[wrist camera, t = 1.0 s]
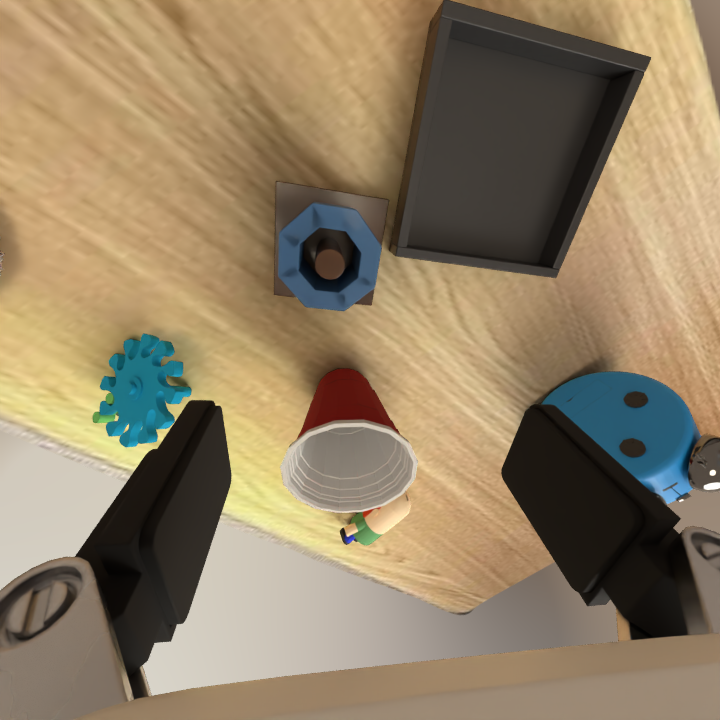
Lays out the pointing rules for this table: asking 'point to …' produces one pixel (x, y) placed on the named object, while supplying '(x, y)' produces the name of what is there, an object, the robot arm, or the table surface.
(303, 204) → the dowel stand
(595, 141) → the tray
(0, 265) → the sea urchin shell
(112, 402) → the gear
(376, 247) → the ring
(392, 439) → the plastic cup
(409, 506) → the toy figurine
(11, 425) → the table surface
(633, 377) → the alarm clock
